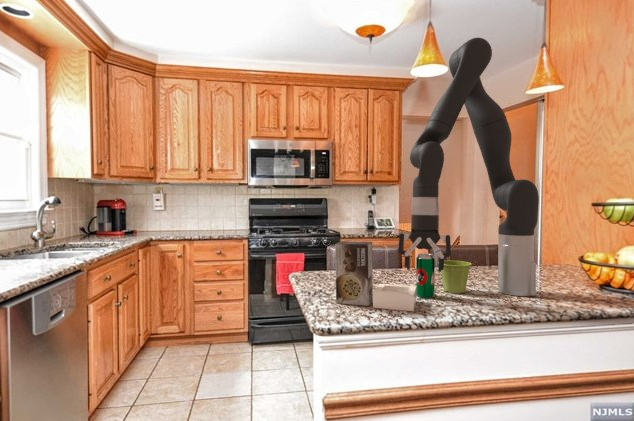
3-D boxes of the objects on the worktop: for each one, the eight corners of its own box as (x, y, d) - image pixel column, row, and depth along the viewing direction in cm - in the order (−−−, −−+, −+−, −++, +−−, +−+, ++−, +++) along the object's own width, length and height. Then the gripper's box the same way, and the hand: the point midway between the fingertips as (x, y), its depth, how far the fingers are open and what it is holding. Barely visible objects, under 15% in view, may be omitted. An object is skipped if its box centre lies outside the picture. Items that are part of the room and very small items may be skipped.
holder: (416, 301, 98) (416, 286, 98) (413, 311, 88) (413, 295, 88) (379, 297, 101) (379, 283, 101) (372, 307, 92) (372, 291, 92)
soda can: (435, 299, 100) (435, 255, 100) (416, 298, 101) (416, 255, 101) (433, 294, 105) (433, 253, 105) (415, 293, 106) (415, 253, 106)
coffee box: (373, 300, 99) (373, 241, 98) (369, 306, 93) (369, 243, 92) (341, 297, 102) (341, 240, 101) (334, 303, 96) (334, 242, 95)
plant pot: (438, 294, 106) (438, 264, 105) (437, 287, 115) (437, 259, 114) (473, 296, 103) (473, 266, 103) (469, 289, 112) (469, 261, 112)
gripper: (451, 213, 104) (450, 270, 104) (401, 212, 108) (399, 266, 109) (452, 214, 97) (450, 274, 97) (397, 213, 101) (396, 270, 102)
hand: (423, 270), depth 103 cm, fingers open, 8 cm apart
